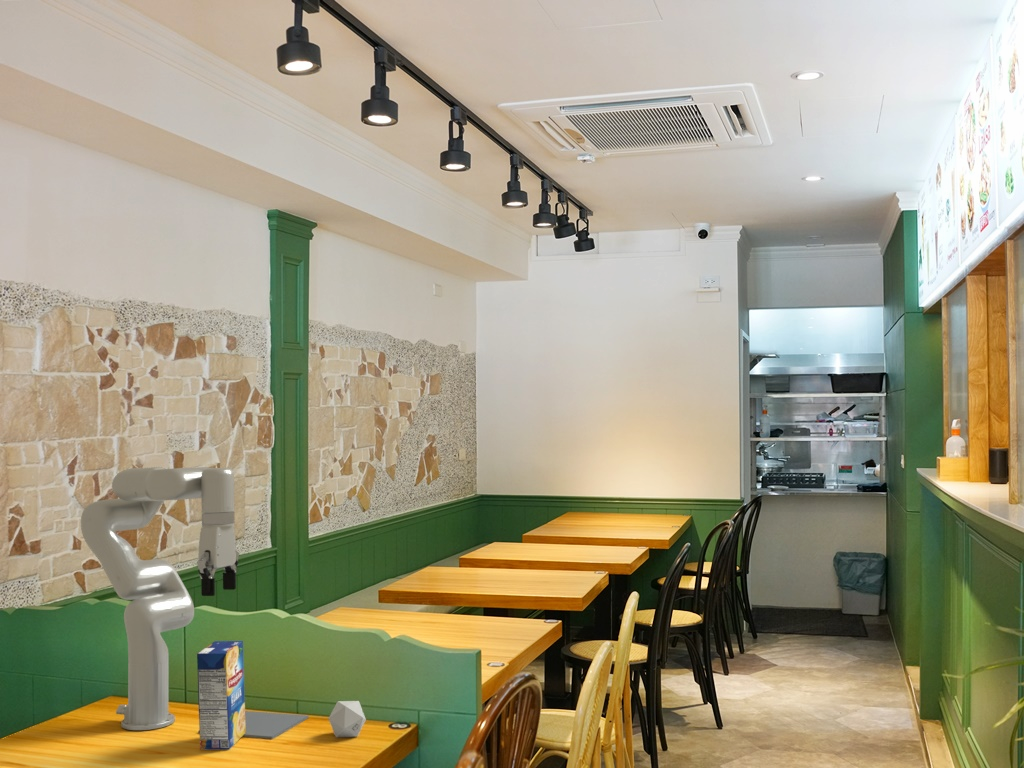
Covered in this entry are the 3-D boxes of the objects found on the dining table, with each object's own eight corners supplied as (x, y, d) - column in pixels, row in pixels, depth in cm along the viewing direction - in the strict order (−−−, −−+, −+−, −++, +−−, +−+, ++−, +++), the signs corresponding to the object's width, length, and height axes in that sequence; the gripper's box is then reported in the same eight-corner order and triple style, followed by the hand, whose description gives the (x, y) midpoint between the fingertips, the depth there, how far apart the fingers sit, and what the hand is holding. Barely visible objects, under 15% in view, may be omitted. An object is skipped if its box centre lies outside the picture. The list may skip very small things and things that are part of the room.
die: (348, 746, 231) (371, 708, 234) (317, 726, 233) (341, 689, 236) (353, 748, 238) (375, 712, 242) (323, 729, 240) (346, 693, 244)
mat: (198, 733, 240) (198, 730, 240) (238, 712, 258) (238, 710, 258) (272, 739, 235) (272, 736, 235) (308, 717, 252) (308, 715, 252)
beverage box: (199, 749, 228) (196, 653, 228) (218, 732, 239) (215, 641, 238) (228, 749, 227) (225, 653, 227) (245, 732, 238) (242, 640, 238)
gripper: (222, 517, 246) (223, 587, 245) (184, 523, 229) (184, 598, 228) (250, 516, 244) (251, 587, 243) (213, 522, 228) (214, 598, 227)
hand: (219, 592), depth 236 cm, fingers open, 9 cm apart
